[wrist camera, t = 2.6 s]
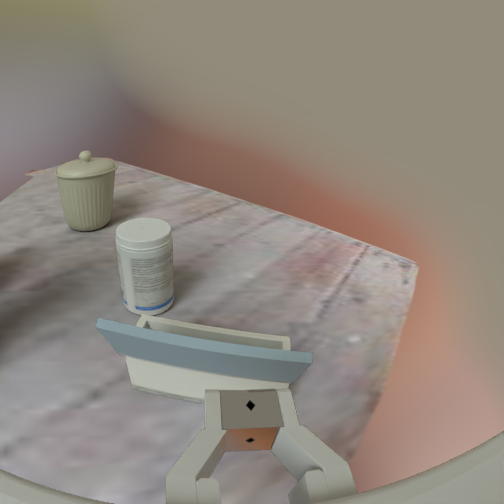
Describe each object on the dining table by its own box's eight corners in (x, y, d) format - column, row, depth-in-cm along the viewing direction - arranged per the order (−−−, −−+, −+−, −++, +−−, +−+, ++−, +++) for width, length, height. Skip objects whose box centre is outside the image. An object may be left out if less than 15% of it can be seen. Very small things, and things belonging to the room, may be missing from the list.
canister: (127, 214, 87) (127, 145, 78) (104, 241, 71) (99, 158, 62) (77, 210, 86) (74, 145, 76) (48, 234, 70) (40, 158, 60)
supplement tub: (182, 296, 57) (184, 224, 50) (156, 325, 49) (152, 247, 42) (141, 281, 59) (137, 212, 52) (112, 306, 51) (103, 232, 44)
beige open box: (132, 388, 37) (123, 349, 33) (147, 353, 43) (142, 314, 39) (278, 412, 37) (291, 377, 33) (278, 374, 43) (290, 336, 40)
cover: (122, 348, 33) (120, 355, 32) (98, 317, 26) (95, 327, 25) (292, 376, 33) (291, 384, 32) (312, 352, 26) (312, 363, 26)
